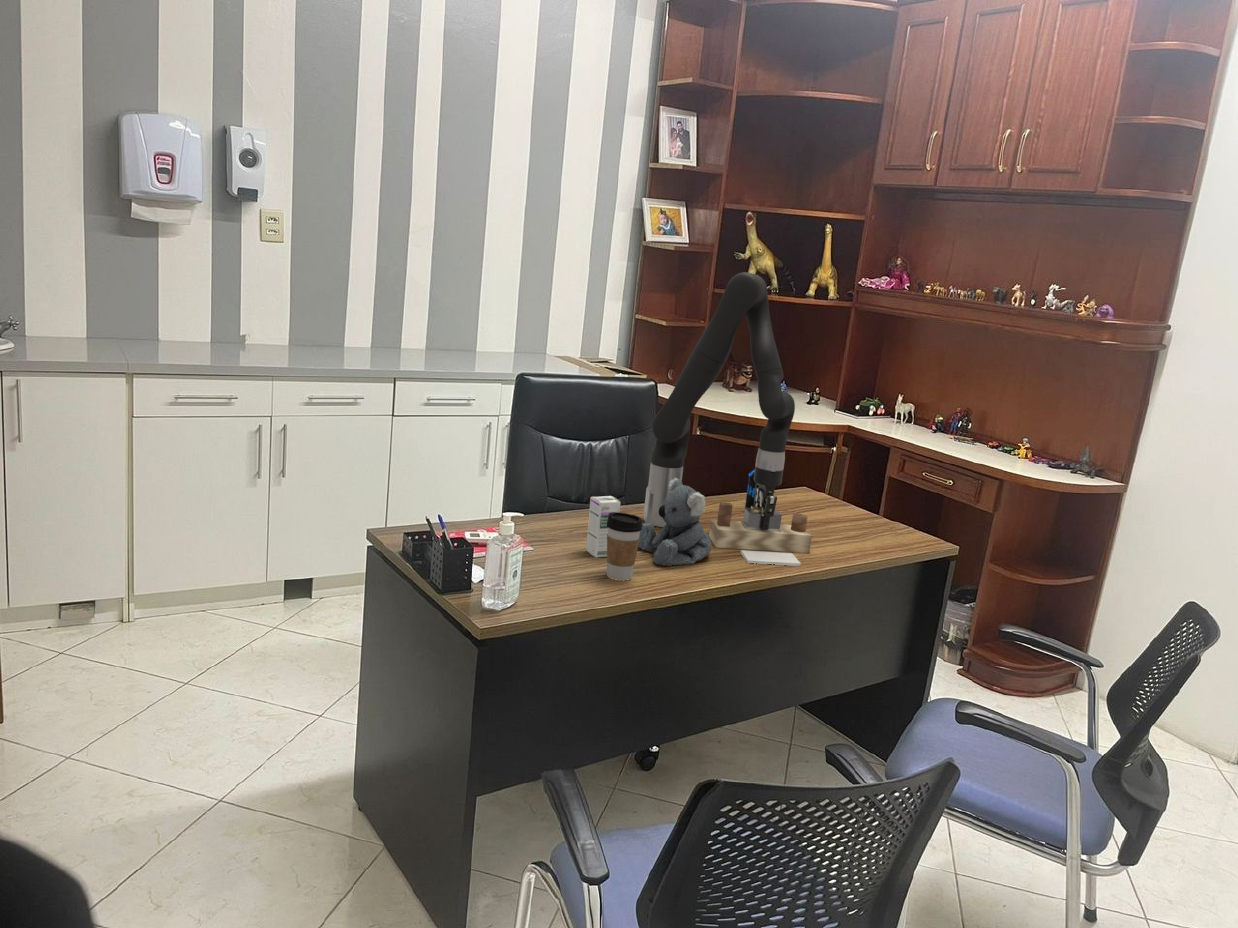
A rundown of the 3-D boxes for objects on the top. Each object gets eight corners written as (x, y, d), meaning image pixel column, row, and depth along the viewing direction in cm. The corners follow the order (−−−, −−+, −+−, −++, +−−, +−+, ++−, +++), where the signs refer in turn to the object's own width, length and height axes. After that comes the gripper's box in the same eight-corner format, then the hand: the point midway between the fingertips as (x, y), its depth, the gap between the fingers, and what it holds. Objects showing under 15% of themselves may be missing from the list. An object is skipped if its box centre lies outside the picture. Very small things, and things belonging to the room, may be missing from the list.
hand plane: (715, 547, 255) (720, 508, 252) (708, 536, 264) (713, 498, 261) (809, 553, 258) (815, 514, 256) (799, 542, 267) (805, 504, 264)
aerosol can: (769, 526, 279) (778, 460, 275) (770, 534, 271) (780, 466, 267) (741, 523, 280) (749, 457, 275) (741, 531, 272) (750, 463, 267)
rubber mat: (747, 563, 245) (748, 560, 244) (740, 553, 252) (740, 550, 252) (800, 566, 246) (800, 563, 246) (791, 556, 254) (791, 553, 254)
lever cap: (747, 527, 257) (749, 510, 255) (743, 521, 261) (745, 504, 260) (779, 529, 258) (782, 512, 257) (774, 523, 263) (777, 506, 261)
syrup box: (595, 558, 237) (600, 502, 233) (585, 550, 242) (590, 495, 238) (615, 556, 239) (621, 501, 236) (605, 549, 244) (610, 494, 241)
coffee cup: (600, 569, 229) (606, 509, 226) (635, 571, 230) (641, 512, 227) (602, 581, 221) (608, 520, 218) (638, 584, 222) (645, 522, 218)
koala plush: (631, 545, 249) (639, 473, 245) (693, 543, 256) (702, 473, 252) (658, 568, 234) (667, 492, 229) (723, 566, 241) (733, 491, 236)
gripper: (749, 458, 262) (741, 517, 266) (762, 471, 248) (754, 533, 252) (775, 460, 263) (767, 519, 267) (790, 473, 249) (781, 535, 253)
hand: (761, 526), depth 260 cm, fingers closed on hand plane, 5 cm apart
